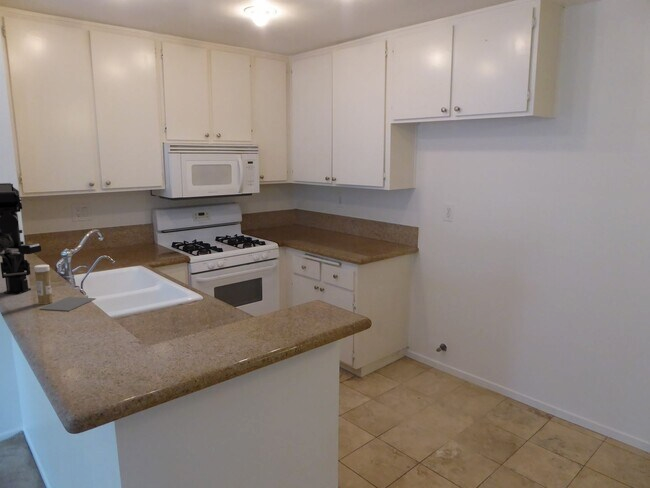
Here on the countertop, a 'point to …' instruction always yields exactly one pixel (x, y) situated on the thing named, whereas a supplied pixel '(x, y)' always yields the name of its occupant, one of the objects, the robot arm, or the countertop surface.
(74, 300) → the mat
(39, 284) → the sprinkles bottle
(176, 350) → the countertop surface
